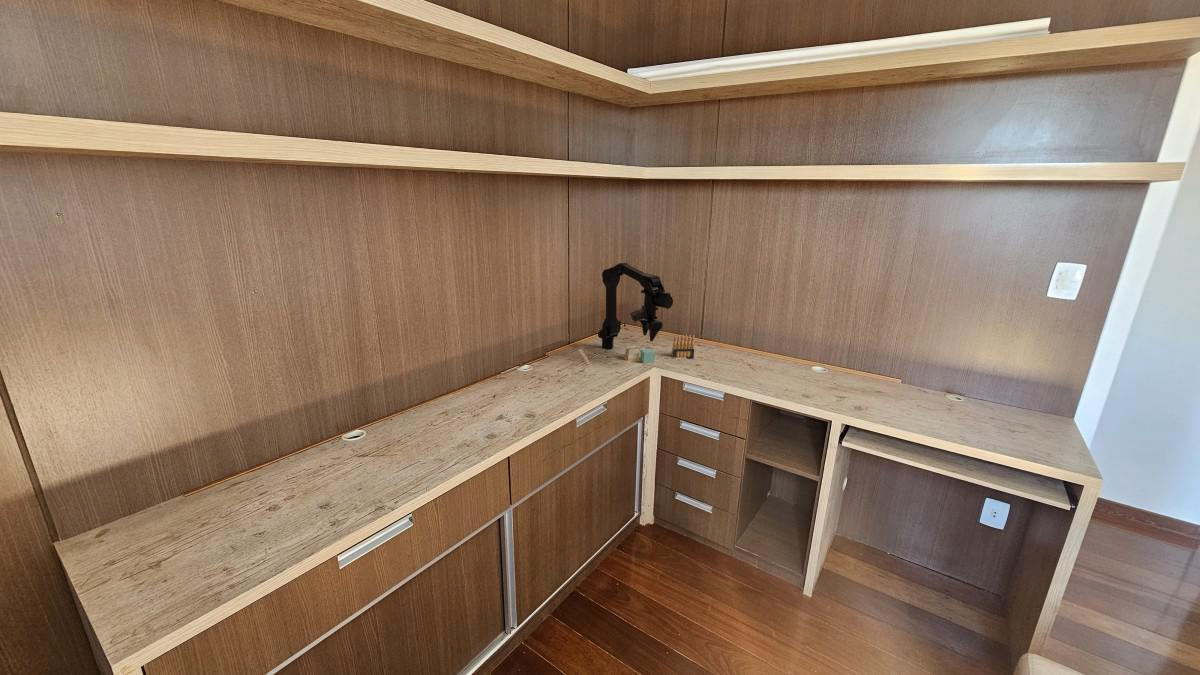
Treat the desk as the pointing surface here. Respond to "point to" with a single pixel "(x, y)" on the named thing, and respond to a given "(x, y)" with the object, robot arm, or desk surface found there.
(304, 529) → the desk surface
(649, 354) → the teal block
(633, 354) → the maple block
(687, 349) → the ammunition clip
